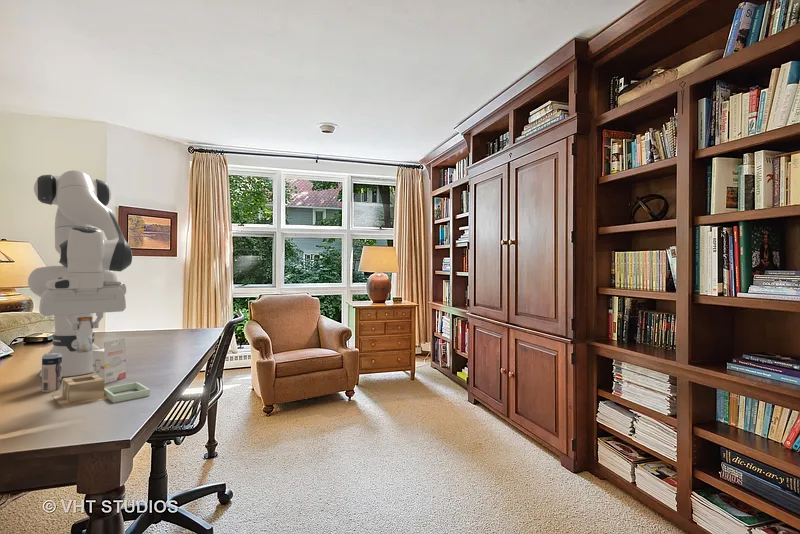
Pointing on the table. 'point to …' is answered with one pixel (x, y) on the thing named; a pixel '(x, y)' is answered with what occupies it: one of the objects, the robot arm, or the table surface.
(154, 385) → the table surface
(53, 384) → the beer can
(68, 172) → the robot arm
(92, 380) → the block
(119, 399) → the tray
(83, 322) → the steel pin
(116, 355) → the ink cartridge box
